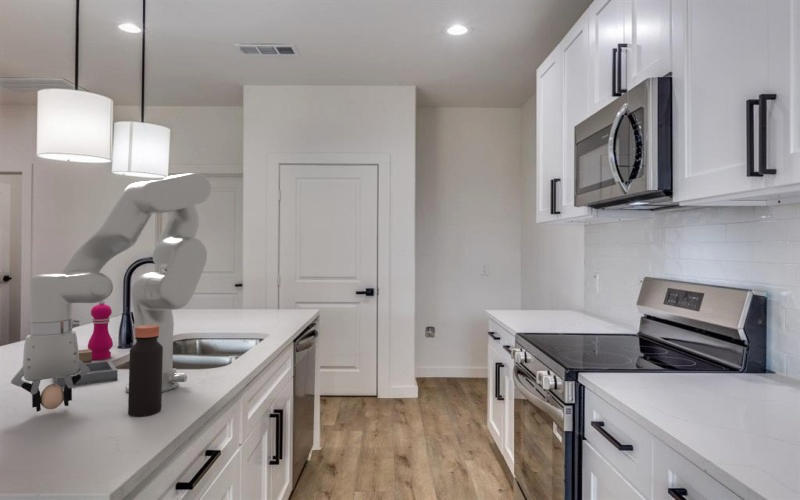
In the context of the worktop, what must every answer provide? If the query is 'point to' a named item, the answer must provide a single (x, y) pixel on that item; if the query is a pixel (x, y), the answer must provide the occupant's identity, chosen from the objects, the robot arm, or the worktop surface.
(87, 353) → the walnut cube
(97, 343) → the pepper mill
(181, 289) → the robot arm
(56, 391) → the egg
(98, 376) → the dish
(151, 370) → the bottle
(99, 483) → the worktop surface
